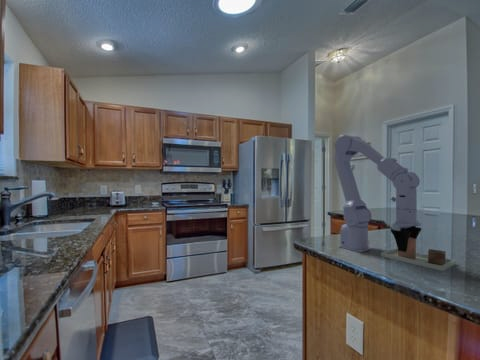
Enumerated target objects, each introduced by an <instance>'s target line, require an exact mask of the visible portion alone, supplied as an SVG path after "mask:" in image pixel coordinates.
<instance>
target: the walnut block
mask: <svg viewBox="0 0 480 360" xmlns="http://www.w3.org/2000/svg"><path fill="white" fill-rule="evenodd" d="M427 255H428V263H431V264H435V265H439V266H442V265H444V264H445V258H446V251H445V250H440V249H432V248H431V249H430V248H429V249H428V251H427Z"/></svg>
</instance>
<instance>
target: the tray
mask: <svg viewBox="0 0 480 360" xmlns="http://www.w3.org/2000/svg"><path fill="white" fill-rule="evenodd" d="M380 257H381V258H386V259H391V260H394V261H398V262H403V263H407V264H411V265H416V266H419V267H424V268H428V269H432V270H437V271H441V272H445V271H447V270H448V269H449V268H452V267H454V266H455V265H456V260H455V259H451V258H447V257H445V264H444V265H442V266H439V265H435V264H431V263H428V253H427V254H426V253H421V252H417V251H416V258H414V259H409V258H404V257H400V256H398V247H396V248H395V247H394V248H391V249H389V250H385V251H382V252H380Z"/></svg>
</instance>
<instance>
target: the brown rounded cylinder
mask: <svg viewBox="0 0 480 360" xmlns="http://www.w3.org/2000/svg"><path fill="white" fill-rule="evenodd" d="M416 252H417V239H415V238H412V237H409V239H408V245H407V250H406V252H402V251H398V256H400V257H404V258H409V259H414V258H416Z"/></svg>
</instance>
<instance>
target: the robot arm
mask: <svg viewBox="0 0 480 360" xmlns="http://www.w3.org/2000/svg"><path fill="white" fill-rule="evenodd" d="M333 147H334V159H333V160H334V164H335V167H336V171H337V175H338V179H339V182H340V185H341V189H342V192H343V196H344V200H345V204H344V206H343V207H342V209H343V221H344V222H345V223H344V224H342V225H341V228H340V230H339V234H340V237H339V238H340V239H339V241H340V242H339V244H340V245H338V247H339V248H341V249H342V248H343V249H346V250H351V251H355V252H358V253H363V252H367V251H371V249H372V247H371V246H369V223H370V221H371V220H372V217H373V216H372V213H371V211H370V209H368V206H367V204H366V203H365V202H364V201H363V200H362V199H361V195H360V191H359V189H358V186H357V182H356V178H355V176H354V175H355V174H354V172H353V168H352V165H351V160H352V159H353V157H354V156H356V155H357V154H358V153H360V154H362V155H363V156H364V157H366V158H368V159H369V160H370V161H371V162H374V164H376V166H377V167H376V168H377V170H378V171H379V172H380V173H382V175H384V176H385V178H387V179H388V180H390V181H391V183H392V186H393V187H394V188H395V195H396V196H395V221H394V223H392V224H391V225H392V227H391V228H390V233H391V234H392V236H393V238H394V240H395V243H396V246H397V247H396V248H398V251H402V252H406V250H407V245H408V239H409V237H412V238H415V239H416V240H417V239H418V236H419V234H420V232H421V231H422V227H419V226H421V223H419V222H420V220H419V219H417V216H418V215H417V207H418V206H417V201H418V200H417V197H418V195H417V187H419V185H420V178H419V176H418V175H417V173H415V172H413V171H409V168H407V167H404V166H402V165H401V164H400V163H399V162H397V161H398V160H397V159H396V158H393V157H388V156H387V157H385V156H383V155H382V154H381V153H380V152H379V151H377V150H376V149H375V148H374V147H372V146H371V145H370V144H369V143H368V142H367V141H366V140H364V139H362V138H361V137H360V136H352V135H347V134H340V135H339V136H337V138H336V140H335V142H334V144H333Z"/></svg>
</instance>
